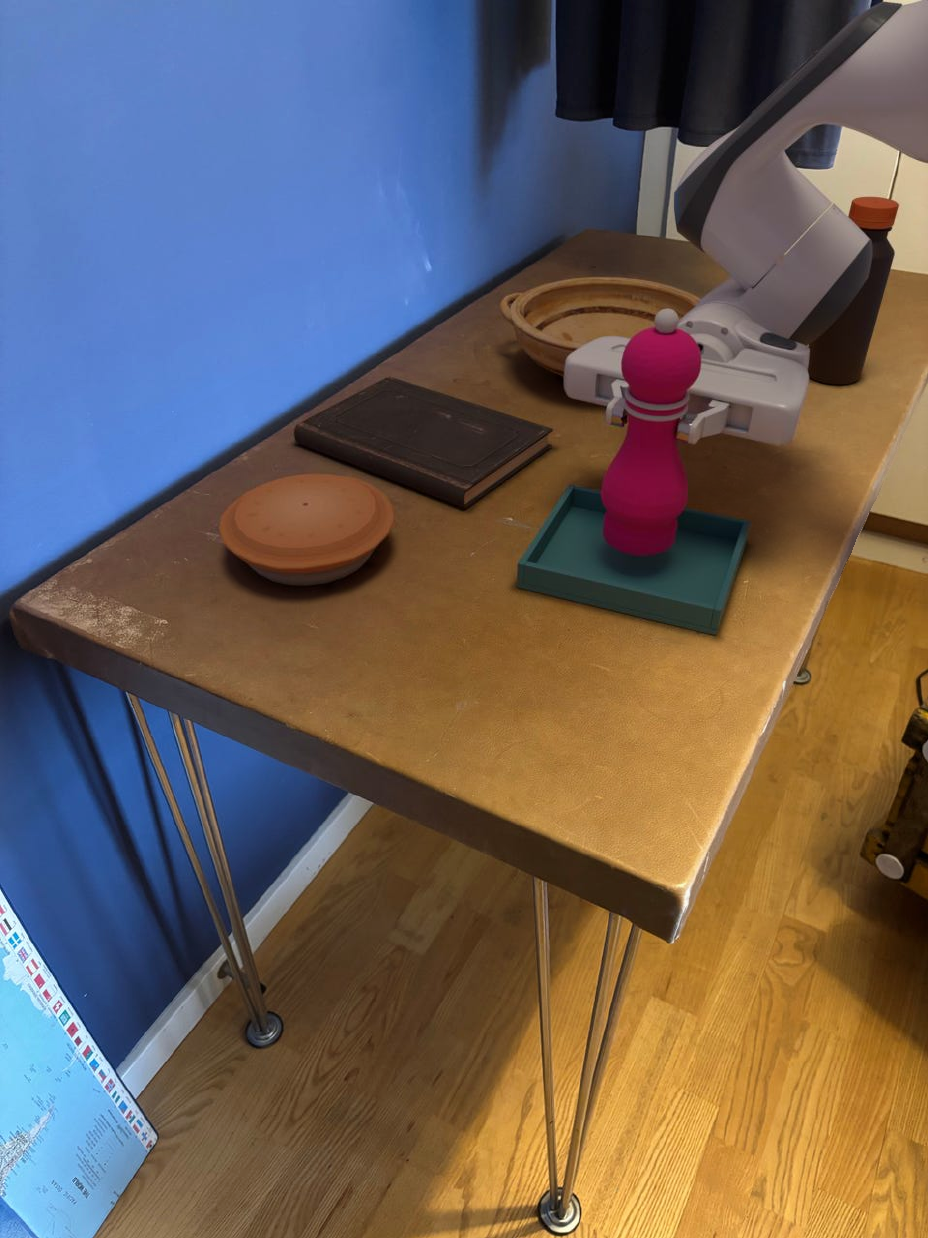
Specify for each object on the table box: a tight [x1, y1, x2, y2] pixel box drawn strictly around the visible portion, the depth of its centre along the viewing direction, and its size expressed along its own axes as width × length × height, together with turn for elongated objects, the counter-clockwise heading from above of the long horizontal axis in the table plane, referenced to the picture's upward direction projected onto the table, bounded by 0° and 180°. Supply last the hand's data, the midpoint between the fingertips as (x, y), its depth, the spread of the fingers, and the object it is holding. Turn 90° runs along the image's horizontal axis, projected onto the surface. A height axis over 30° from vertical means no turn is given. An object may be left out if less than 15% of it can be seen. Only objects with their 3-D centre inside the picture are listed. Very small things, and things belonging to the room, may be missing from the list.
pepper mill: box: [600, 309, 701, 556], centre depth 73 cm, size 7×7×20 cm
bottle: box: [807, 196, 900, 386], centre depth 106 cm, size 7×7×20 cm
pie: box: [218, 473, 396, 587], centre depth 82 cm, size 16×16×5 cm
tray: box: [516, 484, 752, 636], centre depth 81 cm, size 17×14×3 cm
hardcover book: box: [293, 375, 554, 509], centre depth 98 cm, size 16×23×2 cm
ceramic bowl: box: [499, 276, 702, 379], centre depth 111 cm, size 30×24×8 cm
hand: (649, 425), depth 72 cm, fingers closed on pepper mill, 5 cm apart
